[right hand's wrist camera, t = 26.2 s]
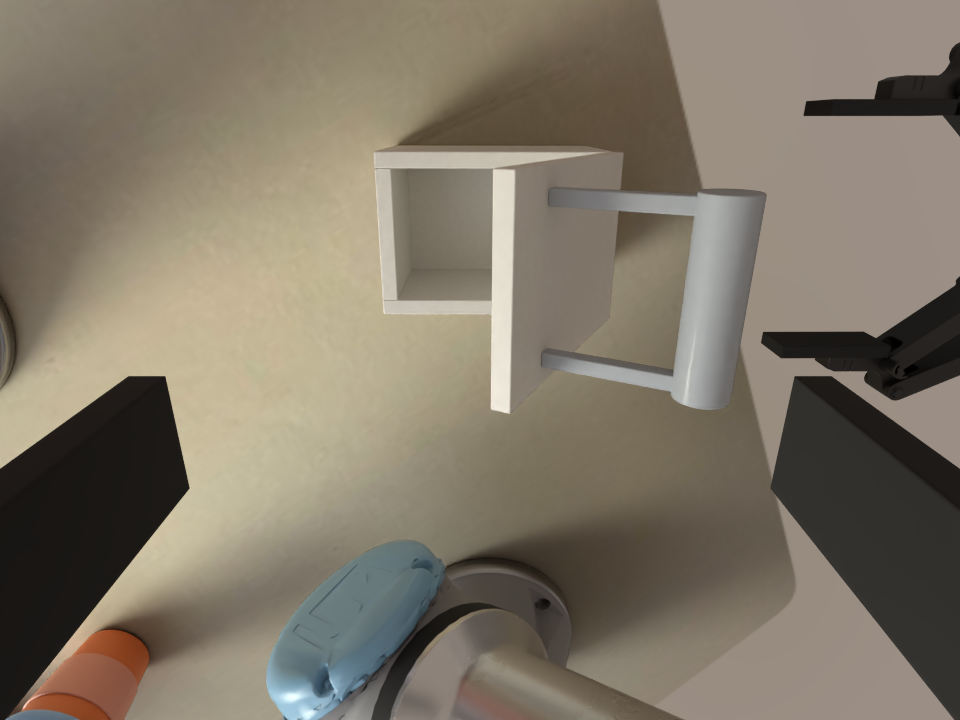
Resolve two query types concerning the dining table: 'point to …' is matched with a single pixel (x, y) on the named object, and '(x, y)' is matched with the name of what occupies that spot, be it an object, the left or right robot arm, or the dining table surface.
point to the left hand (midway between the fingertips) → (792, 234)
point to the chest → (443, 222)
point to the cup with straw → (92, 681)
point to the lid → (610, 278)
